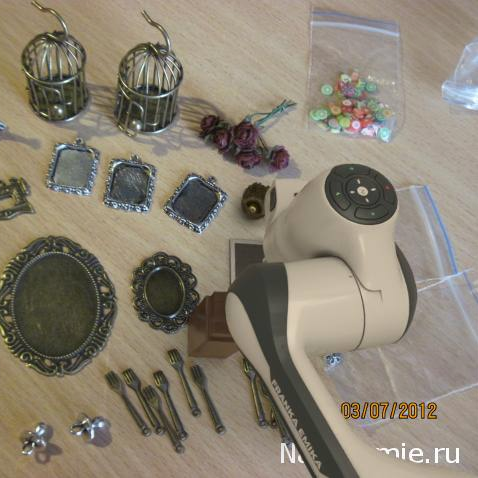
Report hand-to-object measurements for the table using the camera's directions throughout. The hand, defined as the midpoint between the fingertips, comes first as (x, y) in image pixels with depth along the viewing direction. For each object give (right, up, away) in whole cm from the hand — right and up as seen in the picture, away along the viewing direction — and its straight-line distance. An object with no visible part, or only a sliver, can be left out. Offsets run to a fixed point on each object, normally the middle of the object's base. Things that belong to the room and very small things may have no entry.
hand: (268, 275), depth 79 cm
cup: (+5, +11, +46) cm, 48 cm away
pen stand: (-6, -15, +35) cm, 39 cm away
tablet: (+7, -6, +40) cm, 41 cm away
